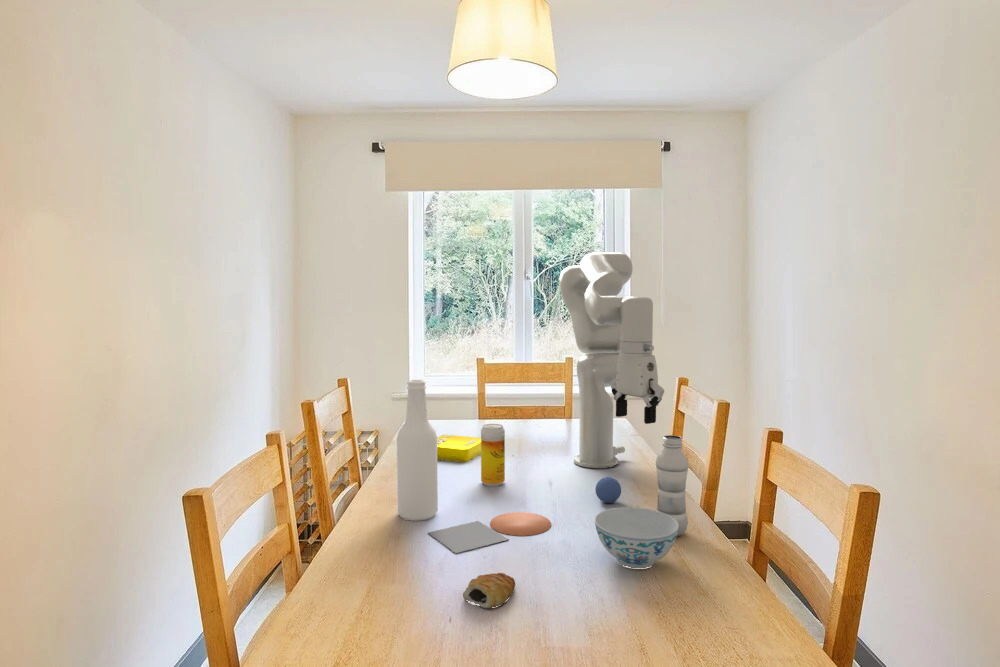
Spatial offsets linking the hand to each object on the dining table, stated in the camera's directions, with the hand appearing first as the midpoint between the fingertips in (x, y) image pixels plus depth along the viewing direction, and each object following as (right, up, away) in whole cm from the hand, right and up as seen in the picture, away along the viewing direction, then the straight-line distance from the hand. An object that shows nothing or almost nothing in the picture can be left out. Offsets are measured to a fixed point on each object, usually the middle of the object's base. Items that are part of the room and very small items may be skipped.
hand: (635, 419), depth 152 cm
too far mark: (-39, -21, -24) cm, 50 cm away
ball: (-7, -16, -4) cm, 18 cm away
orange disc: (-28, -20, -17) cm, 39 cm away
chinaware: (-8, -22, -36) cm, 43 cm away
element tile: (-46, -17, +40) cm, 63 cm away
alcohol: (-51, -20, -12) cm, 56 cm away
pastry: (-34, -23, -49) cm, 64 cm away
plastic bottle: (+2, -21, -22) cm, 30 cm away
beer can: (-34, -18, +11) cm, 40 cm away
